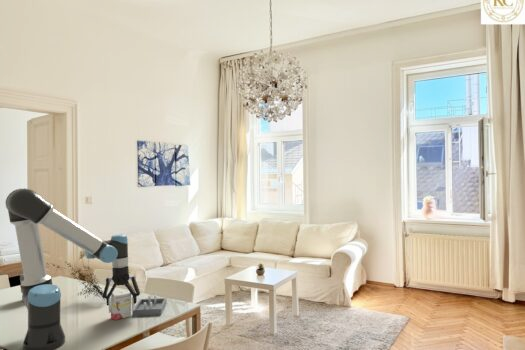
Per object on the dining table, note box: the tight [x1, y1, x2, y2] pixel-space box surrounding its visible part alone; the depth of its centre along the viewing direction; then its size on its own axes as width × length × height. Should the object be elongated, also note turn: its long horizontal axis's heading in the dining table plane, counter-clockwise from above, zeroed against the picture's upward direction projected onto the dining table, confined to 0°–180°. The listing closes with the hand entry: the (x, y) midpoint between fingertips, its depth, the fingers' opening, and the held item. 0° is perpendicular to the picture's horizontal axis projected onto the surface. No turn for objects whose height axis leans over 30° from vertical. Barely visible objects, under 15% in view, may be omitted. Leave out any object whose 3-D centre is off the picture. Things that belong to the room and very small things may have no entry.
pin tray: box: [131, 294, 168, 317], centre depth 202 cm, size 18×14×6 cm
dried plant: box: [45, 251, 106, 301], centre depth 220 cm, size 30×31×45 cm
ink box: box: [110, 290, 132, 321], centre depth 191 cm, size 9×5×12 cm, turn 129°
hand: (122, 310), depth 191 cm, fingers open, 10 cm apart
